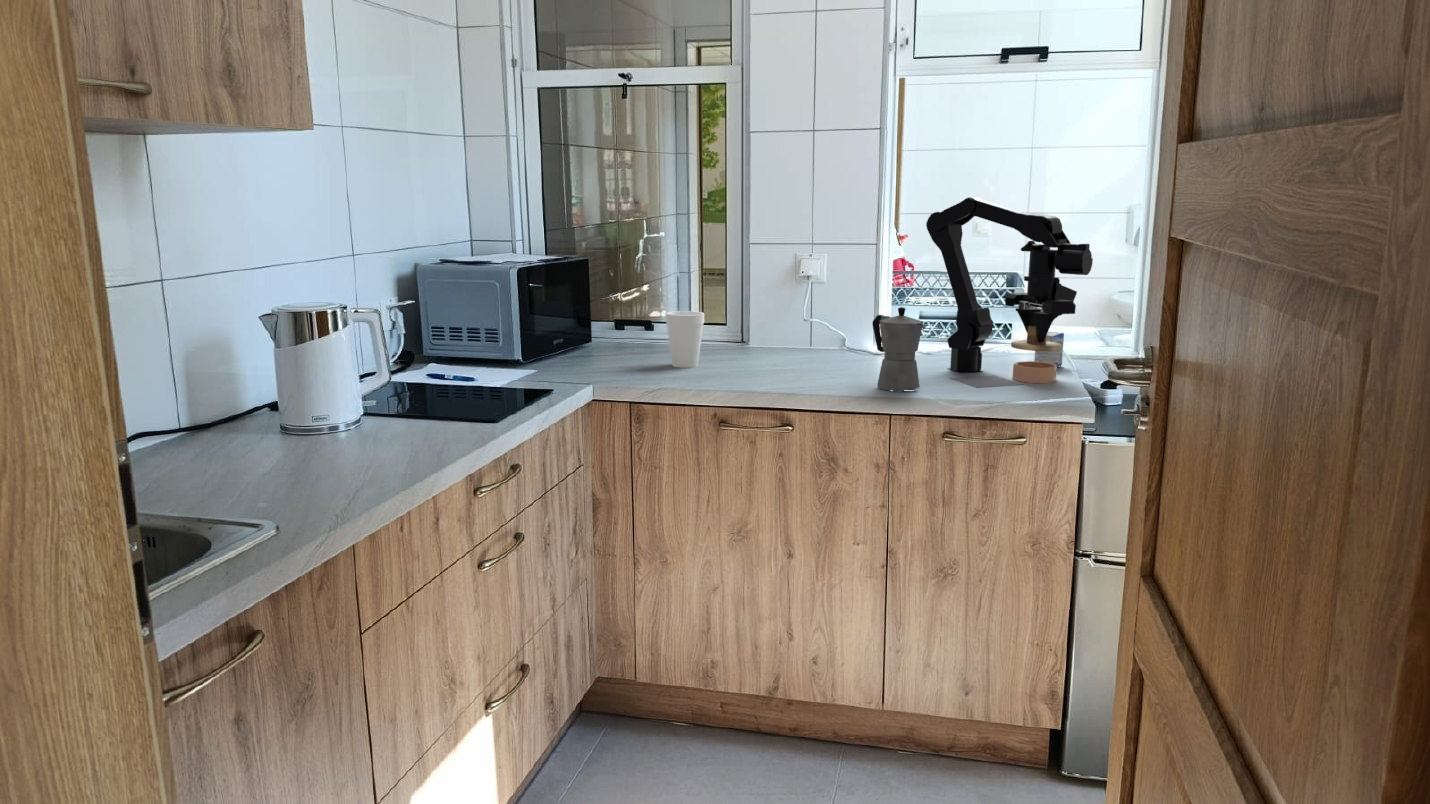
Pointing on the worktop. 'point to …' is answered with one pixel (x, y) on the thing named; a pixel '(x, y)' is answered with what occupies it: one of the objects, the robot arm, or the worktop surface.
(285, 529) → the worktop surface
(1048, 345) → the lid
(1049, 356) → the medicine box
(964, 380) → the mat
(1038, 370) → the bowl
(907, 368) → the coffeepot
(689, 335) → the foam cup
